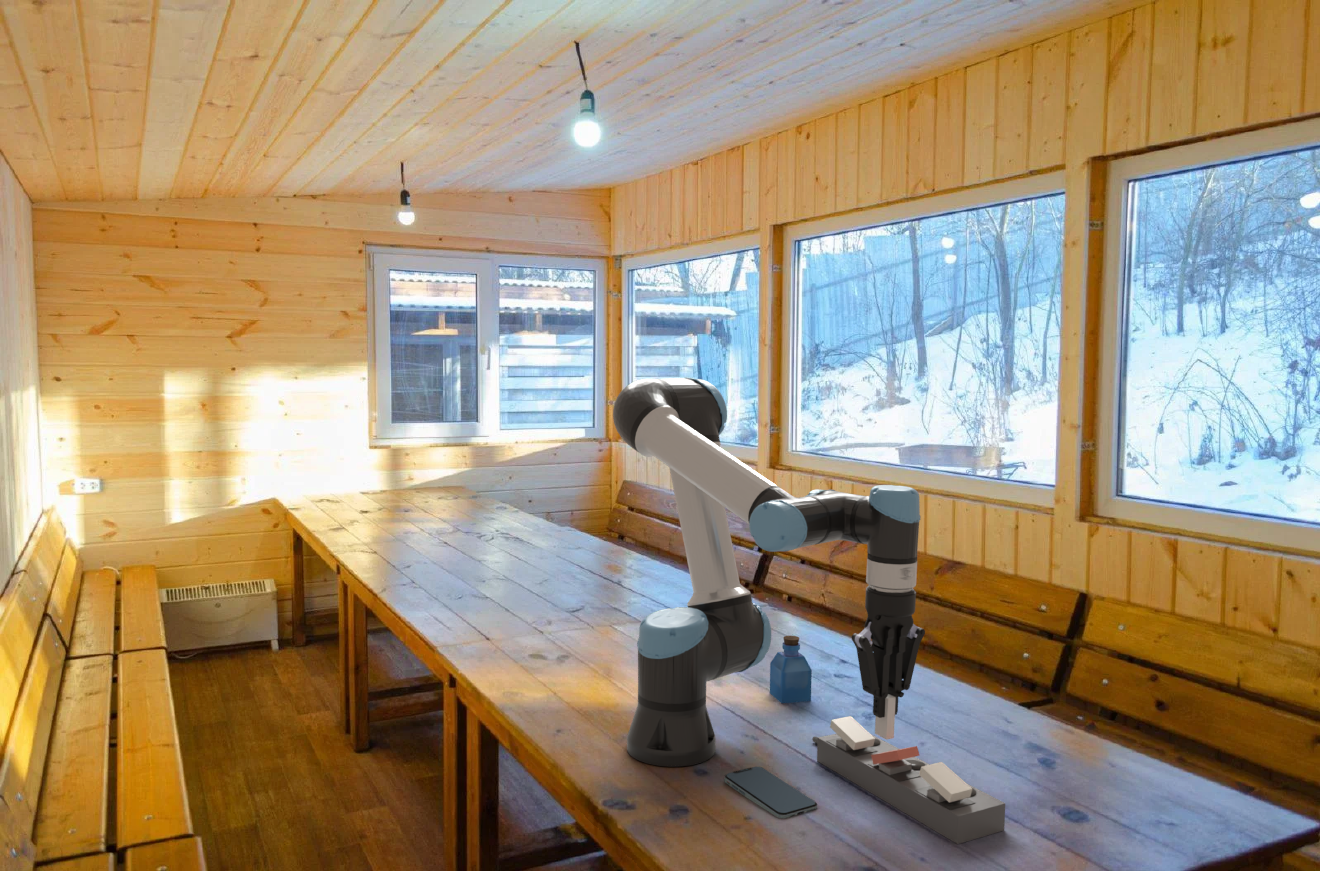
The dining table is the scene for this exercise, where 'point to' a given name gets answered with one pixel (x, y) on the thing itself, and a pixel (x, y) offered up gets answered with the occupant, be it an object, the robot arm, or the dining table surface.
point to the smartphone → (770, 792)
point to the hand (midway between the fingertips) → (884, 735)
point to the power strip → (912, 790)
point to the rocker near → (945, 782)
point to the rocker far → (852, 732)
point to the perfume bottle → (790, 673)
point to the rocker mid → (895, 755)
